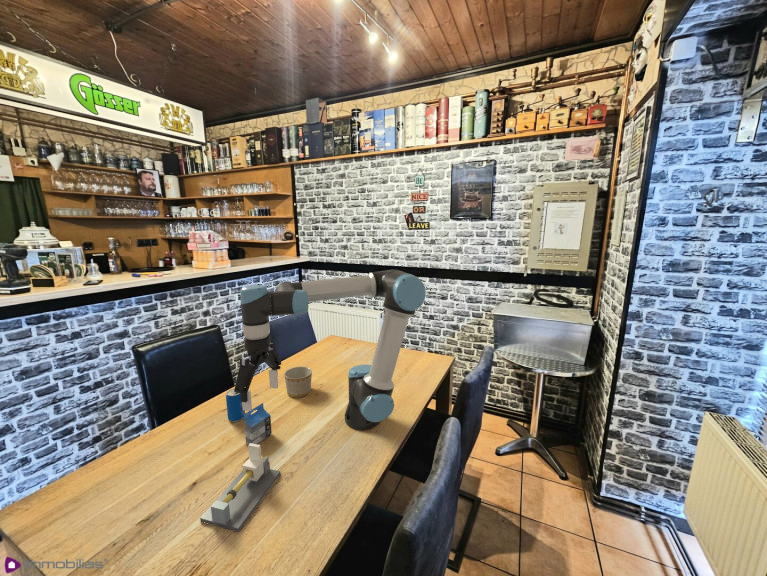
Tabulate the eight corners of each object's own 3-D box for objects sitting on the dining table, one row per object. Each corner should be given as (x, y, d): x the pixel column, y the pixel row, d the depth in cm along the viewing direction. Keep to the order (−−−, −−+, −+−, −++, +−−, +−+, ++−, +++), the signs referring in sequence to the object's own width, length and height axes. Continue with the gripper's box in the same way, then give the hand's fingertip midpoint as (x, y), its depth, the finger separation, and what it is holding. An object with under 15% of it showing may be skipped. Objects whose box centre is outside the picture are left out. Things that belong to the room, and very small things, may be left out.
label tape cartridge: (252, 448, 113) (250, 417, 111) (245, 444, 115) (242, 414, 112) (272, 434, 121) (270, 405, 118) (265, 431, 122) (263, 402, 120)
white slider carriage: (263, 472, 99) (261, 445, 97) (256, 481, 95) (254, 453, 93) (251, 469, 100) (248, 442, 98) (243, 478, 96) (241, 450, 94)
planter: (279, 396, 147) (278, 375, 145) (296, 383, 159) (295, 364, 156) (301, 402, 142) (301, 381, 140) (317, 388, 154) (317, 369, 152)
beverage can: (238, 423, 127) (236, 397, 124) (224, 421, 128) (221, 395, 125) (248, 414, 133) (246, 388, 130) (234, 412, 134) (232, 387, 132)
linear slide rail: (280, 474, 101) (279, 457, 100) (238, 532, 82) (236, 512, 81) (248, 467, 104) (246, 451, 103) (200, 521, 85) (198, 502, 84)
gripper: (270, 322, 109) (274, 378, 113) (215, 349, 85) (223, 418, 90) (289, 324, 107) (292, 381, 111) (239, 352, 83) (245, 423, 88)
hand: (261, 398), depth 100 cm, fingers open, 13 cm apart
